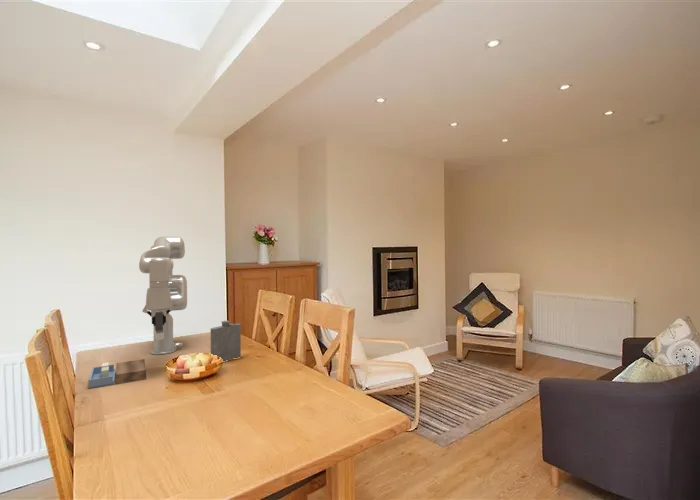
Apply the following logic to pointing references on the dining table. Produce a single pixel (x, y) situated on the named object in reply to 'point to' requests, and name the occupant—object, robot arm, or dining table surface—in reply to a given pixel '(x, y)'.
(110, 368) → the slate blue box
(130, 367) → the walnut board
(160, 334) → the scraper
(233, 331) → the hip flask
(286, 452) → the dining table surface
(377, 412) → the dining table surface
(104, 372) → the sage tile
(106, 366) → the cream tile
